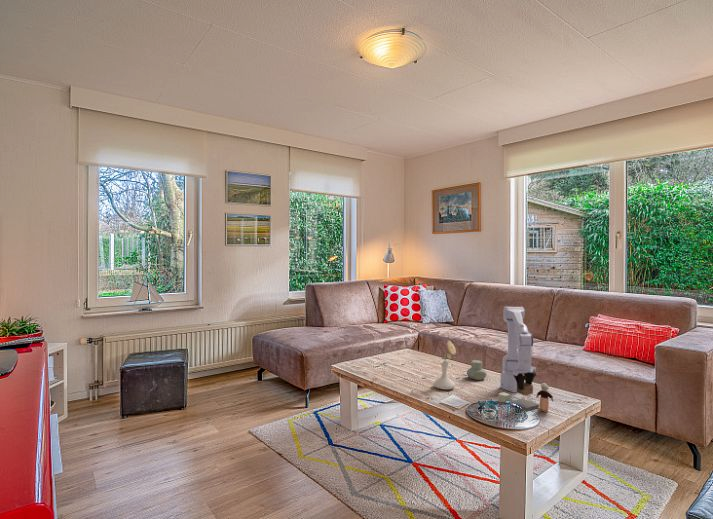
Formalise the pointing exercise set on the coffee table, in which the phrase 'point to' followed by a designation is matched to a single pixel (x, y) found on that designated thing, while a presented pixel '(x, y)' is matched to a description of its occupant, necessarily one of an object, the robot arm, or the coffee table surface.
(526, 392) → the walnut block
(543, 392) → the grandmother figurine
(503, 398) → the sage block
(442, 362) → the flower in vase
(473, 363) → the air freshener
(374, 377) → the coffee table surface
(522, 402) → the plinth
